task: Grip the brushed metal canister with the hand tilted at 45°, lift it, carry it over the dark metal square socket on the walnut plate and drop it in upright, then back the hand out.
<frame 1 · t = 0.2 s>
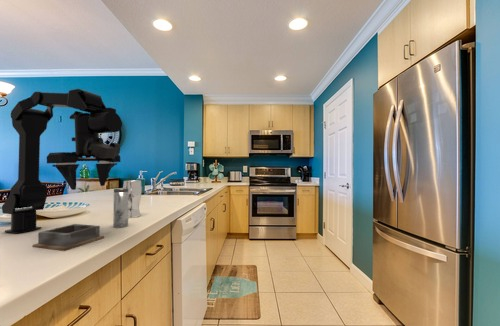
hand: (89, 187, 68), 14 cm above the counter, tool pointing down, fingers open, 9 cm apart
brushed metal canister: (120, 226, 81), on the counter
socket: (70, 242, 63), on the counter
beer glass: (132, 216, 97), on the counter
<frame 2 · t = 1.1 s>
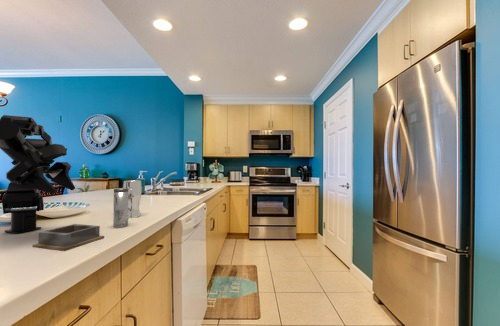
hand: (65, 190, 69), 13 cm above the counter, tool tilted 45°, fingers open, 9 cm apart
nothing on the counter moved.
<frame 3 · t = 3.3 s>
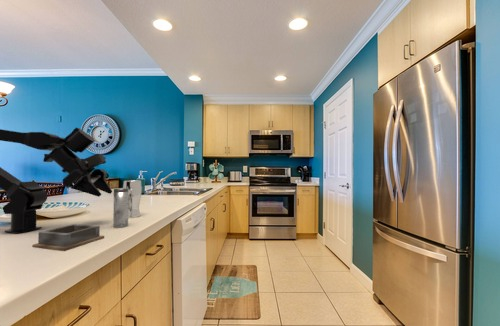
hand: (106, 194, 80), 11 cm above the counter, tool tilted 45°, fingers open, 9 cm apart
nothing on the counter moved.
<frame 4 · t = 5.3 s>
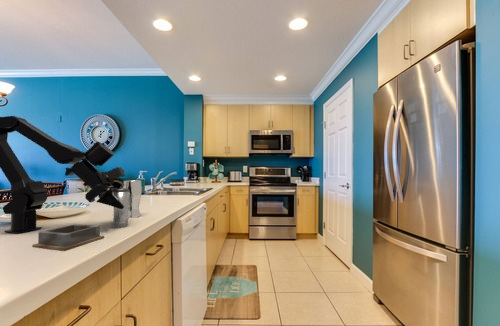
hand: (125, 207, 81), 7 cm above the counter, tool tilted 45°, fingers closed on brushed metal canister, 4 cm apart
brushed metal canister: (120, 226, 81), on the counter, touching gripper
everything else where it was.
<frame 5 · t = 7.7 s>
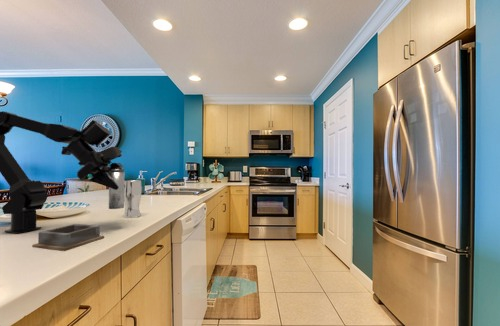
hand: (121, 188, 78), 13 cm above the counter, tool tilted 45°, fingers closed on brushed metal canister, 4 cm apart
brushed metal canister: (116, 207, 78), point 7 cm above the counter, touching gripper
everything else where it was.
when the fingers open (9 cm above the counter, at t = 10.4 s): brushed metal canister drops 2 cm, resting on socket.
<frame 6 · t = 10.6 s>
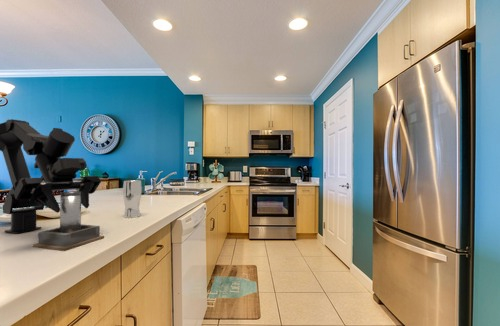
hand: (73, 209, 63), 9 cm above the counter, tool tilted 45°, fingers open, 7 cm apart
brushed metal canister: (70, 239, 63), point 1 cm above the counter, touching socket
everything else where it was.
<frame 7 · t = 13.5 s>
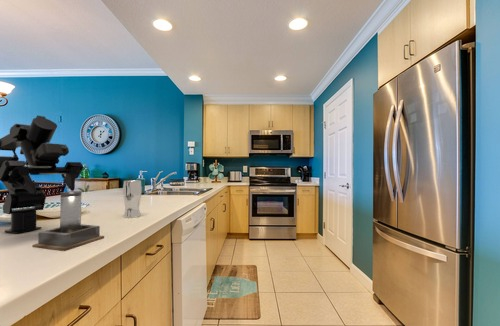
hand: (55, 191, 67), 14 cm above the counter, tool tilted 45°, fingers open, 9 cm apart
nothing on the counter moved.
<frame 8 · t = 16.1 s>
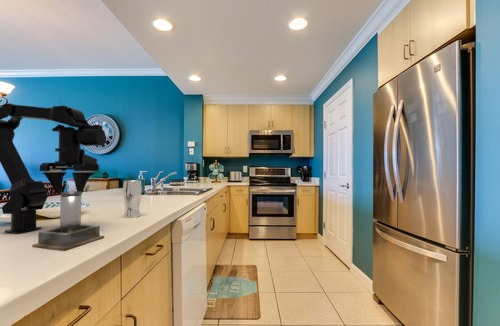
hand: (69, 193, 75), 12 cm above the counter, tool pointing down, fingers open, 9 cm apart
nothing on the counter moved.
at the end: brushed metal canister 0.0 cm off-centre on the socket, point 0.6 cm above the socket's base; brushed metal canister tilted 0°; the gripper is holding nothing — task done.
